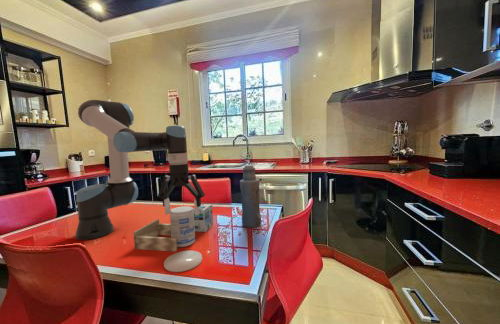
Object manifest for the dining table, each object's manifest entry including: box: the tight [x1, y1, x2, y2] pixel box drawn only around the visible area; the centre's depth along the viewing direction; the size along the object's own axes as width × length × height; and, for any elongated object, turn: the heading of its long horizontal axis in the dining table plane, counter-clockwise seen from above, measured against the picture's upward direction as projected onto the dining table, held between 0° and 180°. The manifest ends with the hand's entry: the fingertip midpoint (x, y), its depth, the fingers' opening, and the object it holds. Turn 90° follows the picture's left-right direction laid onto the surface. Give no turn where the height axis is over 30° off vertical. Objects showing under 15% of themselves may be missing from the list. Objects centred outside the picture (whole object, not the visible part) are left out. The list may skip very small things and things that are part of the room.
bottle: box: [239, 164, 262, 228], centre depth 111 cm, size 10×10×30 cm
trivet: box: [163, 250, 203, 273], centre depth 79 cm, size 13×13×1 cm
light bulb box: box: [193, 203, 214, 233], centre depth 110 cm, size 11×7×11 cm, turn 168°
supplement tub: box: [169, 205, 196, 248], centre depth 94 cm, size 10×10×15 cm
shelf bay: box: [132, 218, 178, 253], centre depth 96 cm, size 18×15×7 cm
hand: (182, 214), depth 93 cm, fingers open, 13 cm apart
